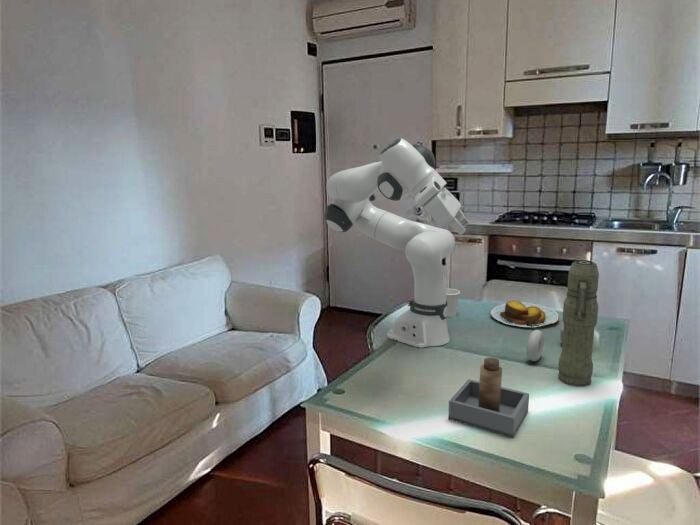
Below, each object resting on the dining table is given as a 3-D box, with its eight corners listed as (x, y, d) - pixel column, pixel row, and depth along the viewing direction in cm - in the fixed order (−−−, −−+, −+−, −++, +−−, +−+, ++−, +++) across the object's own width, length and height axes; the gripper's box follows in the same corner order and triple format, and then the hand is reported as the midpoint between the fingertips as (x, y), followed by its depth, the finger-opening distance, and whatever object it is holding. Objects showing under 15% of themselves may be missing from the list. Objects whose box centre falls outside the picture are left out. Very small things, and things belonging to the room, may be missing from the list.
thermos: (588, 372, 148) (598, 258, 140) (594, 390, 137) (606, 267, 129) (556, 369, 150) (564, 256, 143) (559, 386, 139) (569, 266, 132)
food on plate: (572, 322, 190) (573, 306, 189) (527, 335, 178) (528, 318, 177) (520, 305, 212) (520, 290, 210) (477, 316, 200) (477, 300, 198)
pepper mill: (475, 413, 125) (477, 361, 122) (481, 405, 129) (484, 354, 126) (495, 419, 122) (498, 366, 119) (501, 410, 126) (505, 359, 123)
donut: (535, 367, 152) (537, 336, 150) (524, 364, 154) (526, 334, 152) (544, 356, 160) (546, 326, 158) (533, 353, 162) (535, 324, 160)
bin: (448, 419, 124) (448, 401, 123) (467, 395, 135) (468, 379, 134) (513, 437, 115) (514, 418, 114) (528, 411, 127) (529, 393, 126)
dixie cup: (440, 310, 207) (441, 287, 204) (461, 312, 203) (461, 289, 201) (436, 317, 199) (436, 293, 197) (457, 319, 196) (457, 295, 194)
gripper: (427, 192, 141) (460, 228, 141) (414, 204, 122) (451, 245, 122) (444, 177, 138) (477, 213, 138) (433, 186, 119) (471, 229, 119)
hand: (465, 228), depth 130 cm, fingers open, 8 cm apart
